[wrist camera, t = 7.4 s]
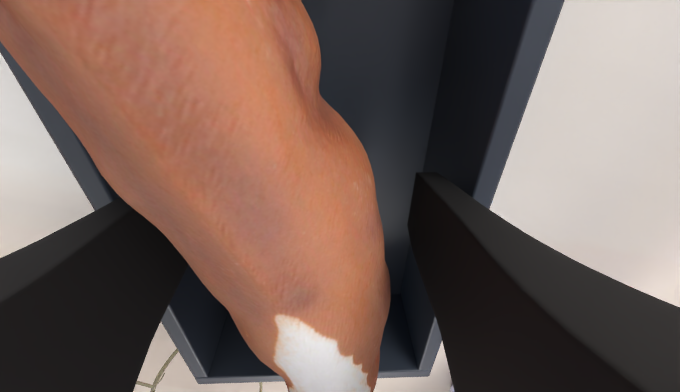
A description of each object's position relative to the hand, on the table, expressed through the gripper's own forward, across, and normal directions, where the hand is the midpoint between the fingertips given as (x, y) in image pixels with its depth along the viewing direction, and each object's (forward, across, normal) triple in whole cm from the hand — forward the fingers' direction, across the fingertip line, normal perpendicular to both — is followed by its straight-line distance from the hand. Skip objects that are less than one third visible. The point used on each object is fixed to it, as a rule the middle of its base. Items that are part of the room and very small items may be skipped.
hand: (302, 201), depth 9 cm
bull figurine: (+3, 0, 0) cm, 3 cm away
